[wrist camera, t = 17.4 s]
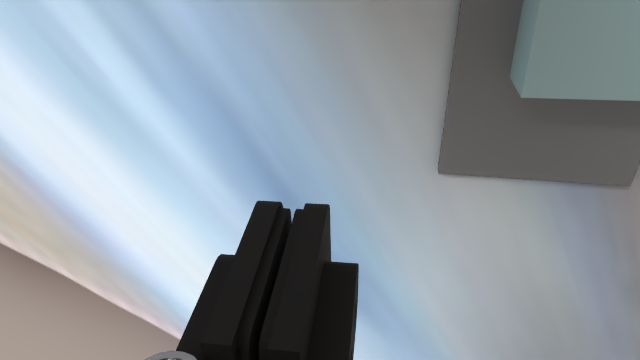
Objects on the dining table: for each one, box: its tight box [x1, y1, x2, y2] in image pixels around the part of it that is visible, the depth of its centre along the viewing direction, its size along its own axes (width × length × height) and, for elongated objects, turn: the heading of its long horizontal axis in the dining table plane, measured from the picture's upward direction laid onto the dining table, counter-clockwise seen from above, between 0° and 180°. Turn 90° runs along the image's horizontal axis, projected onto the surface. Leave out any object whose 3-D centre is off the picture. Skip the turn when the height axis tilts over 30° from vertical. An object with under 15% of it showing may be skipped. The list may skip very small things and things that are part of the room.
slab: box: [510, 0, 640, 101], centre depth 22 cm, size 7×3×8 cm
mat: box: [438, 0, 640, 186], centre depth 26 cm, size 12×11×1 cm
